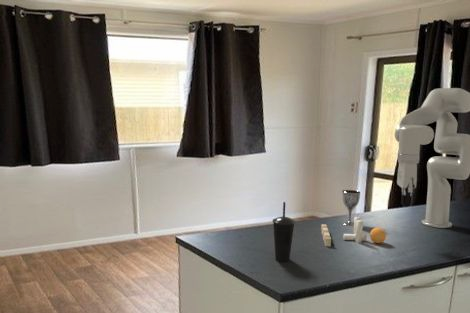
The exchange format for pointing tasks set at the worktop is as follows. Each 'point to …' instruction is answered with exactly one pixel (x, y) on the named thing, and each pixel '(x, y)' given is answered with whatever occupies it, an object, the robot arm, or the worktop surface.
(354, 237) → the front pin
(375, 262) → the worktop surface
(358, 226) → the pin
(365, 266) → the worktop surface
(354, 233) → the pin
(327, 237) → the back wall
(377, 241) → the ball
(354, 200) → the wine glass
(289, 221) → the drinking cup
